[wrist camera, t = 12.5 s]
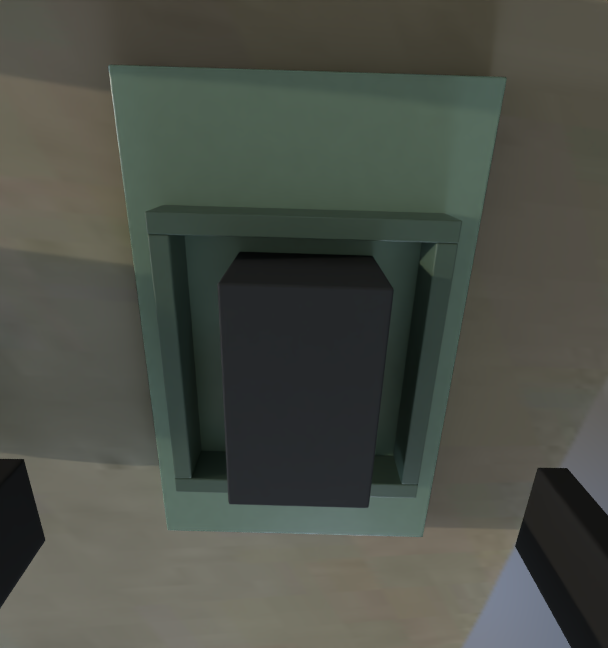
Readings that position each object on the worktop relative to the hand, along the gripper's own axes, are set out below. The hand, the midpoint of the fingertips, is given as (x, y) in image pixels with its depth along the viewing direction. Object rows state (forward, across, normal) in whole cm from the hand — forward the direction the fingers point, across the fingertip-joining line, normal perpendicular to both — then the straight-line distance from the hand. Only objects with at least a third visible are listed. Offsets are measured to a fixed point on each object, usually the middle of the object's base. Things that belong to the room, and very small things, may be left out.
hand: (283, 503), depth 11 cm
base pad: (+10, 0, 0) cm, 10 cm away
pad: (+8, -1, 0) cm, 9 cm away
